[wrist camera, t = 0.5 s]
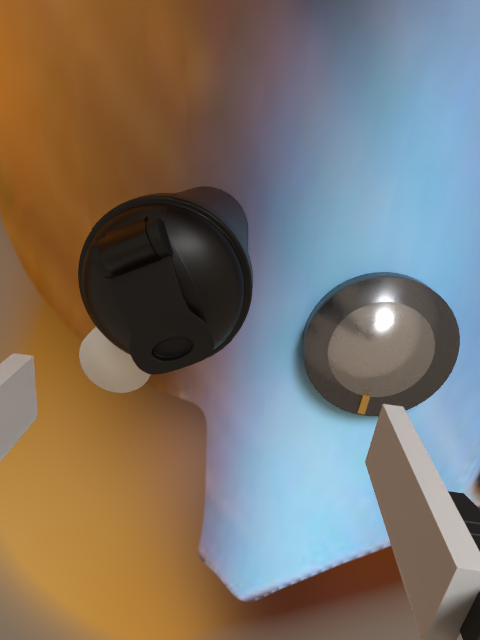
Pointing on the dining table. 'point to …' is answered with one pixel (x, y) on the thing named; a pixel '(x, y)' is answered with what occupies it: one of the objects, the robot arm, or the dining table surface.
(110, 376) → the white rounded capsule
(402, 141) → the dining table surface
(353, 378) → the grey plate
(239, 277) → the water bottle
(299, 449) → the dining table surface
